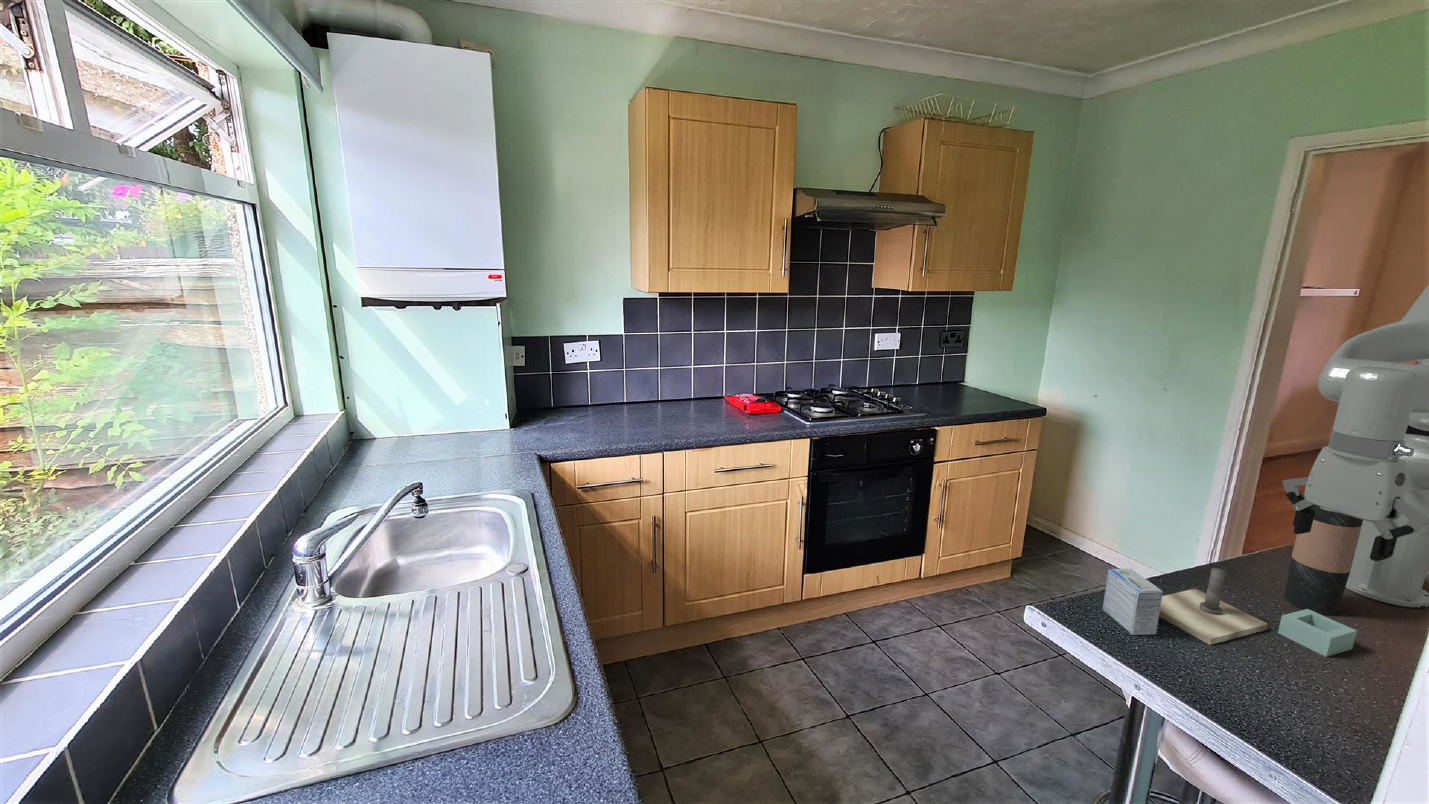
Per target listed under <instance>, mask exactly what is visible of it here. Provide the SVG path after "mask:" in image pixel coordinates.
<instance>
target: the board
mask: <svg viewBox="0 0 1429 804" xmlns="http://www.w3.org/2000/svg"><path fill="white" fill-rule="evenodd" d="M1226 575H1227V571H1226V570H1224V569H1223V568H1219V567H1211V570H1210V575H1209V580H1208V585H1207V589H1206V593H1205V592H1204V591H1201V590H1199V589H1197V588H1191V589H1188V590H1183V591H1179V592H1174V593H1171V594H1165V595H1162V600H1161V606H1160V612H1159V617H1160V618H1161V619H1163V620H1164V621H1166V622H1168V623H1169V624H1172V625H1173V626H1175V627H1177V628H1179V629H1181V630H1182V631H1184V632H1185V633H1187V634H1189V635H1191V636H1193V637H1194V638H1196V639H1198V640H1200V641H1202V642H1204V643H1205V644H1207V645H1209V646H1211V645H1215V644H1218V643H1223V642H1225V641H1230V640H1234V639H1238V638H1241V637H1245V636H1249V635H1253V634H1256V632H1257V633H1260V632H1264V631H1267V630H1268V627H1269V623H1267V622H1265V621H1263V620H1261V619H1259V618H1257V617H1255V616H1253V615H1251V614H1249V613H1247V612H1244V611H1243V610H1240V609H1239V608H1236V607H1234V606H1232V605H1230V604H1228V603H1227V602H1224V601H1222V600H1221V598H1222V593H1223V590H1224V584H1225V580H1226ZM1252 633H1253V634H1252Z"/></svg>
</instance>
